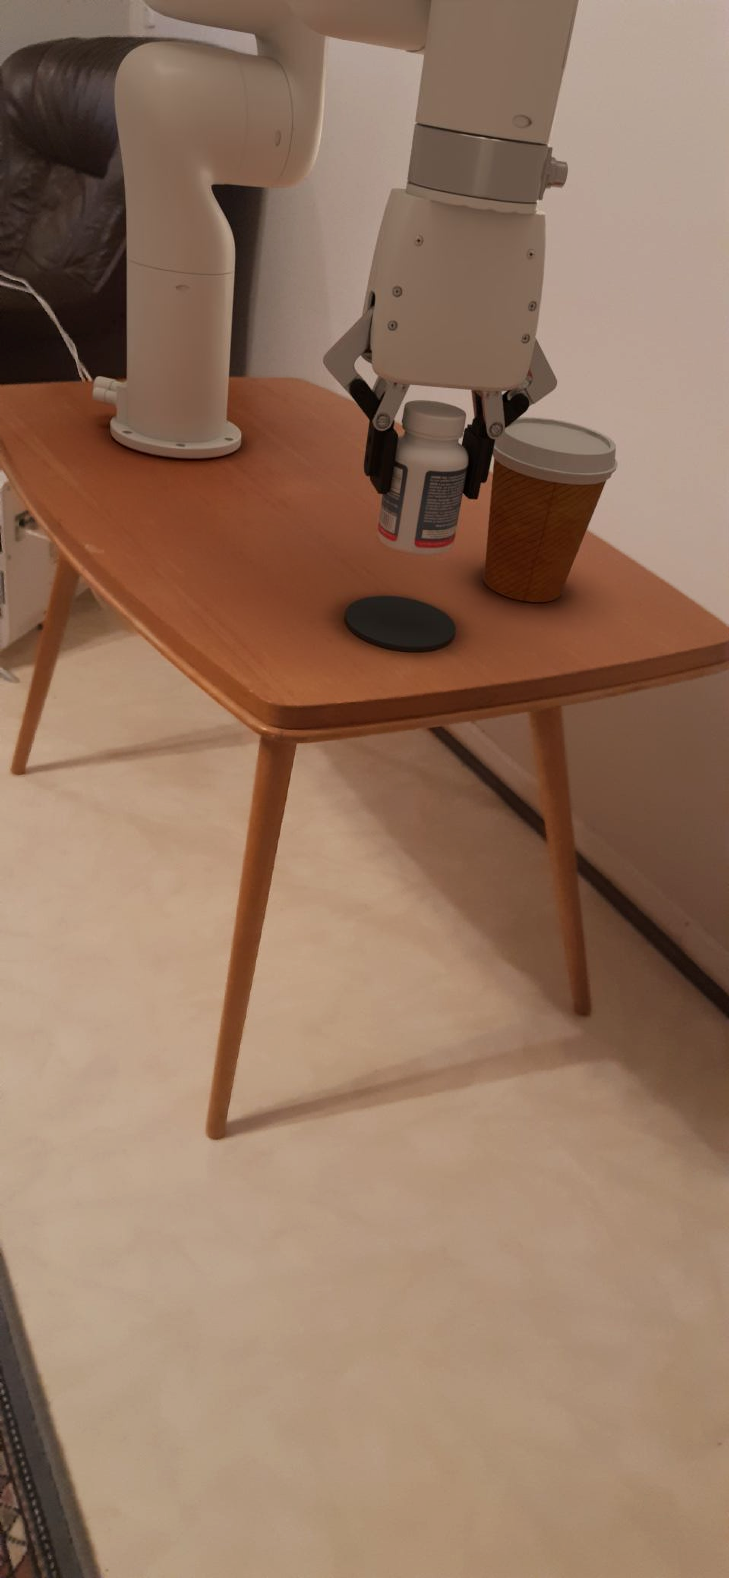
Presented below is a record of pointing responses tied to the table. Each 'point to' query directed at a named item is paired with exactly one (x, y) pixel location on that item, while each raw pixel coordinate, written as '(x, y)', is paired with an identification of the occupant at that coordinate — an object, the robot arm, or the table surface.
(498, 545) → the disposable coffee cup
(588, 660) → the table surface
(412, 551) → the pill bottle
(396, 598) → the corner coaster
